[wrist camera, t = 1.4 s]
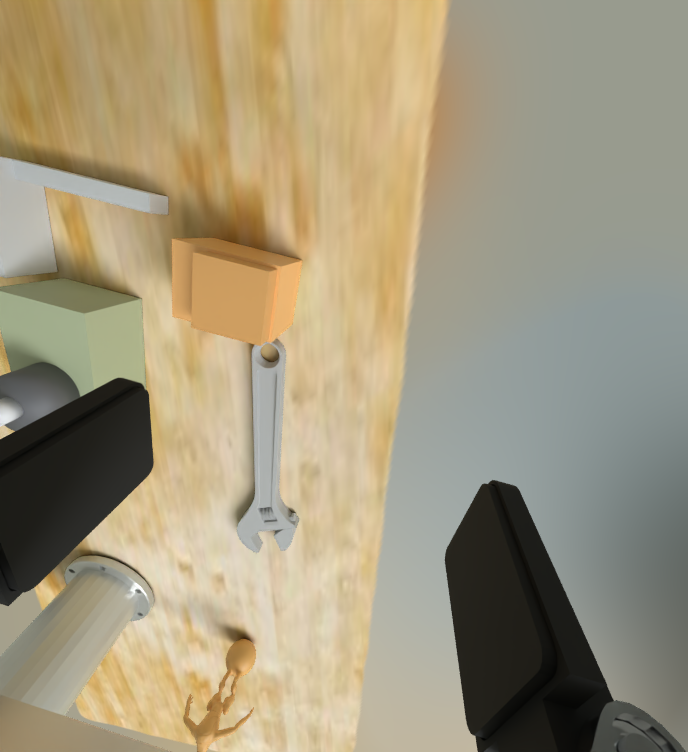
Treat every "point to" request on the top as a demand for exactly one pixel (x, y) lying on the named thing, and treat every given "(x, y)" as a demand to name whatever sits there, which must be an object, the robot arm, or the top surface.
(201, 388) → the top surface
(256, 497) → the adjustable wrench
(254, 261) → the stepped orange block
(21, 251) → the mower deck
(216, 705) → the figurine
